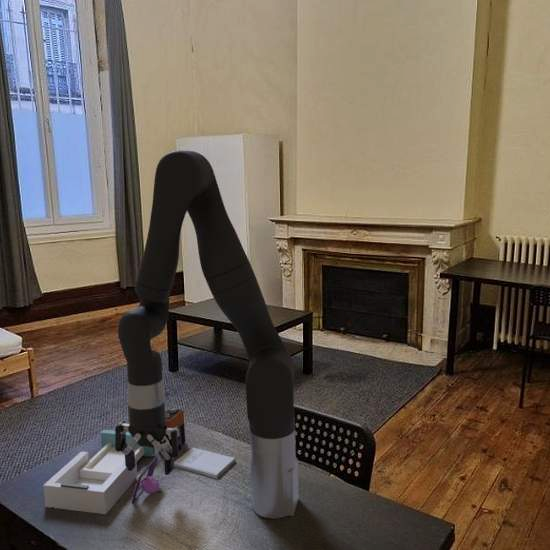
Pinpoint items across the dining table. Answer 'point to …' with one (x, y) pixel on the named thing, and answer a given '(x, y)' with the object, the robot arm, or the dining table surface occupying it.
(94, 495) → the open box
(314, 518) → the dining table surface
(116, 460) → the drawer
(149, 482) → the purple toy kit
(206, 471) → the external hard drive
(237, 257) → the robot arm
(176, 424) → the battery
